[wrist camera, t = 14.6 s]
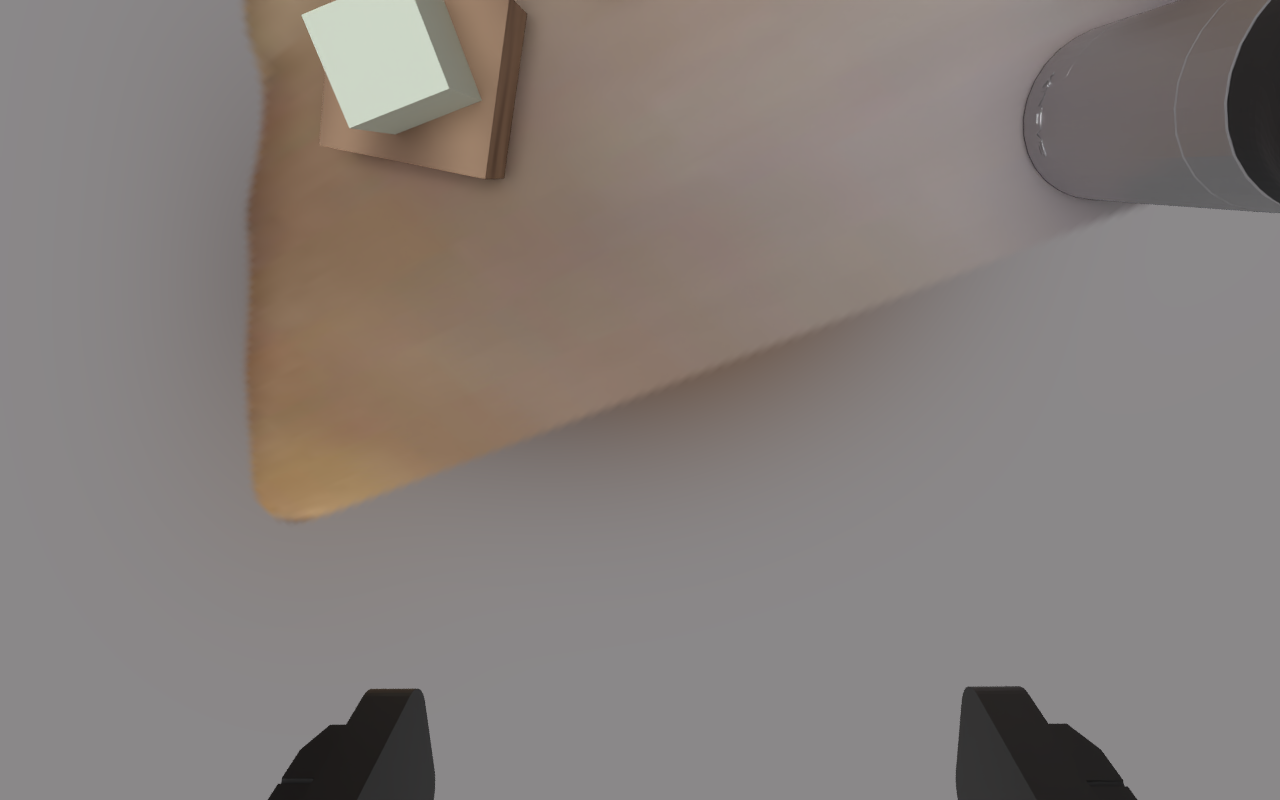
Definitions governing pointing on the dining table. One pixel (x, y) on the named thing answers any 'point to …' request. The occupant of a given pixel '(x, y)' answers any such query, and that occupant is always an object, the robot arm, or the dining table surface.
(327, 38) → the sage cube
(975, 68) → the dining table surface
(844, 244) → the dining table surface
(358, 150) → the walnut block
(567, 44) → the dining table surface
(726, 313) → the dining table surface
